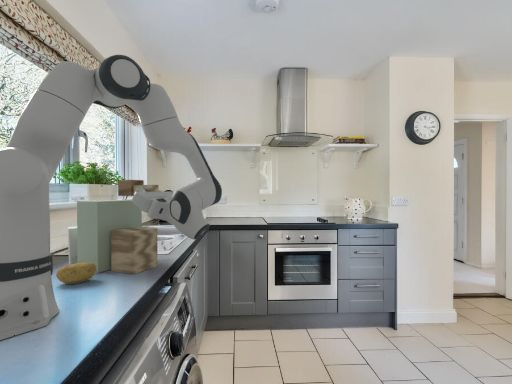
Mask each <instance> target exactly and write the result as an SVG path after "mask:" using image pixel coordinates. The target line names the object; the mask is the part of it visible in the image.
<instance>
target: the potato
mask: <svg viewBox="0 0 512 384" xmlns="http://www.w3.org/2000/svg"><path fill="white" fill-rule="evenodd" d="M95 274H97V273H96V266H95V264H94V263H90V262H88V263H76V264H72V265H69V264H68V265H64V266H62V267H61V268H59V269H58V270H57V271H56V274H55V275H56V278H57V279H58V280H59V281H60V282H61V283H63V284H69V285H70V284H71V285H72V284H79V283H82V282H85V281H89V280H91V279H92V278H93V277H94V276H95Z"/></svg>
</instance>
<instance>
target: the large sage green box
mask: <svg viewBox="0 0 512 384" xmlns="http://www.w3.org/2000/svg"><path fill="white" fill-rule="evenodd" d="M142 212H143V211H142V210H141V209H139V208H138V207H137V206H136V205H135V204H134V203H133V202H132V199H107V200H103V199H101V200H78V201H76V226H77V263H88V262H90V263H94V264H95V266H96V274H99V273H104V272H106V271H110V270H111V231H112V230H120V229H127V228H134V227H143V226H142V225H143V224H142V223H143V221H142V219H143V215H142V214H143V213H142Z"/></svg>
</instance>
